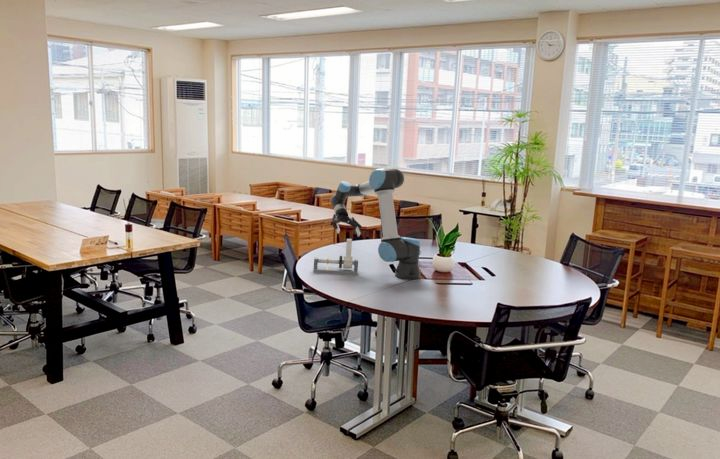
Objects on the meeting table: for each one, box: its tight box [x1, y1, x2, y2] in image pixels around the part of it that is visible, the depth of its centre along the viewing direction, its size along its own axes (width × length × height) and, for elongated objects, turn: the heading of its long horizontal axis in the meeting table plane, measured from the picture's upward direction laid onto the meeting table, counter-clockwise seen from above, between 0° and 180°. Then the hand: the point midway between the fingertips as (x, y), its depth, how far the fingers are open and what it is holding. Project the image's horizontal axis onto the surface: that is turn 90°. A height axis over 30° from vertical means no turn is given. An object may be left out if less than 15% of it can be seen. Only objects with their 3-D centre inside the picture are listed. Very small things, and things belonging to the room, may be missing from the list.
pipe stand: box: [312, 257, 359, 276], centre depth 348 cm, size 26×10×8 cm, turn 92°
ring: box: [338, 255, 343, 268], centre depth 348 cm, size 2×7×7 cm, turn 2°
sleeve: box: [342, 238, 353, 269], centre depth 347 cm, size 5×7×18 cm
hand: (349, 233), depth 352 cm, fingers open, 13 cm apart
